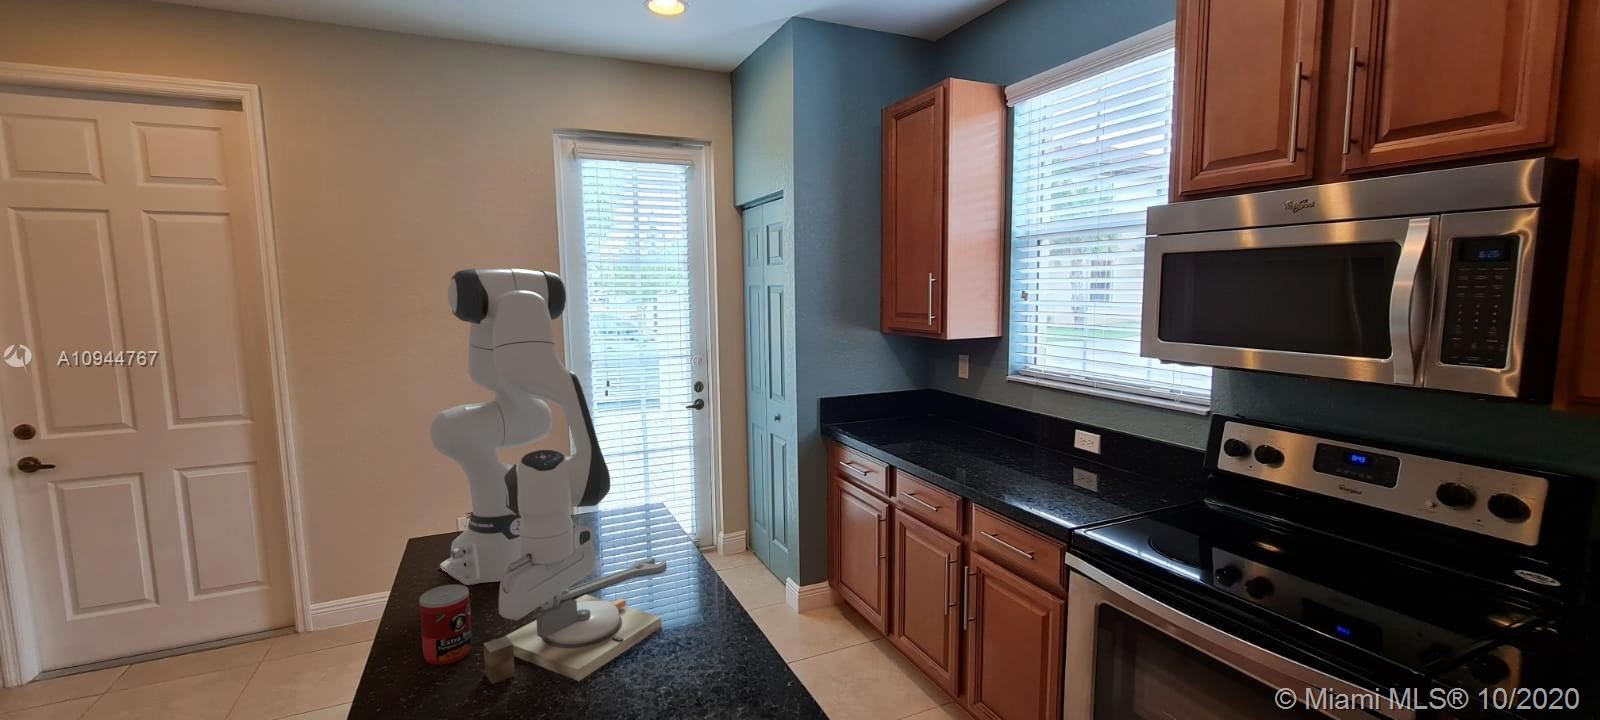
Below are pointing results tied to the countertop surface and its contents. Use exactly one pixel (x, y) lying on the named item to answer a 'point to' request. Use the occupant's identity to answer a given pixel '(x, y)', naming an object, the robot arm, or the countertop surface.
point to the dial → (578, 621)
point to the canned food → (446, 624)
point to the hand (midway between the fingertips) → (551, 618)
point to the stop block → (499, 659)
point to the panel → (584, 644)
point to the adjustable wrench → (616, 577)
